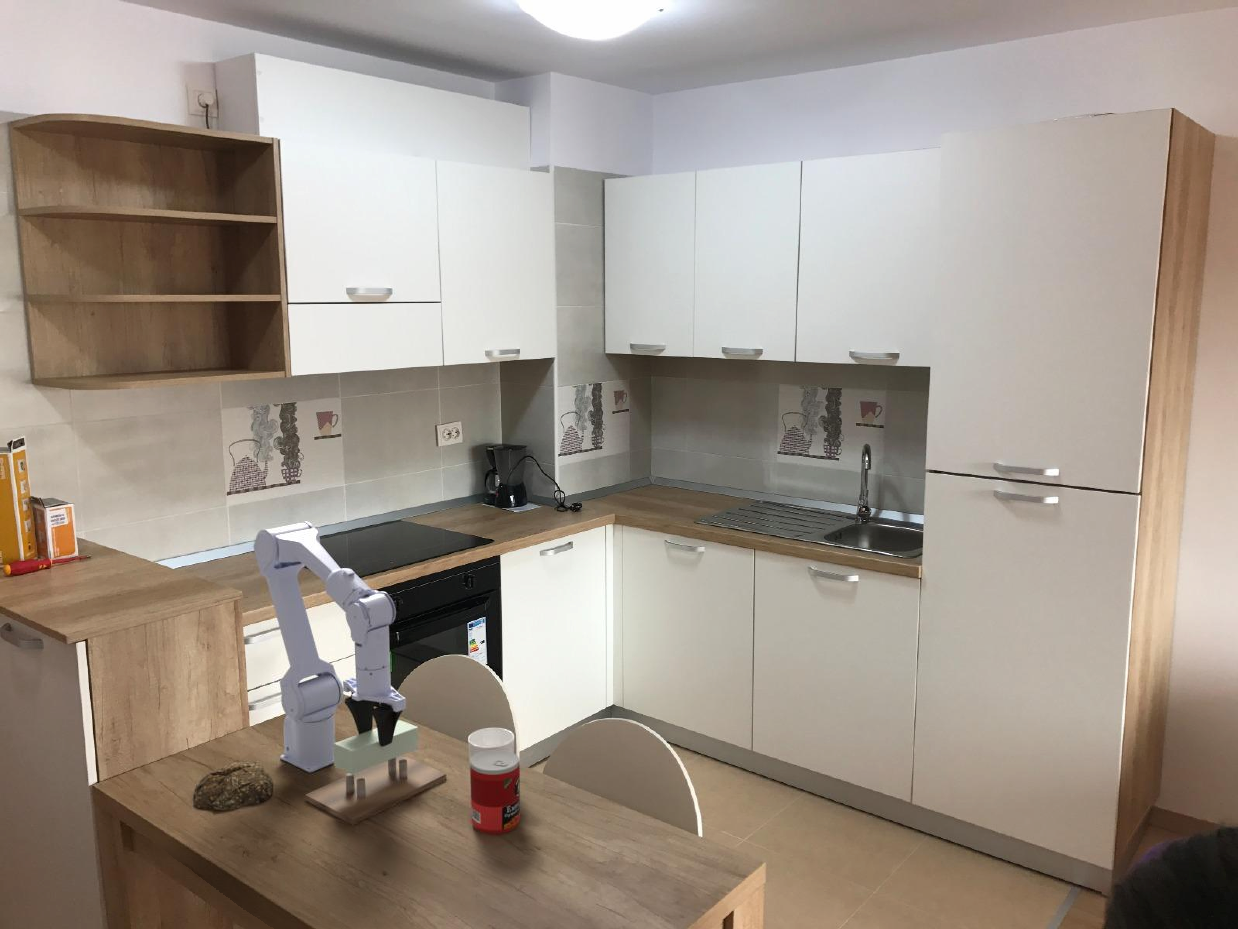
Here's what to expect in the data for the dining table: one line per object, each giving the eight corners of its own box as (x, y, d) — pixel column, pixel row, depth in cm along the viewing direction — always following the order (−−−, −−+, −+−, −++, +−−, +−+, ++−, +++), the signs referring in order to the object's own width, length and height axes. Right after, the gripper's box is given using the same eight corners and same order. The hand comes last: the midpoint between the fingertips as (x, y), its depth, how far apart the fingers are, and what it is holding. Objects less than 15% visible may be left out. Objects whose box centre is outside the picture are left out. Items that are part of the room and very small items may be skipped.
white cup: (492, 807, 165) (491, 751, 164) (459, 793, 170) (458, 739, 168) (524, 789, 172) (523, 735, 170) (491, 776, 176) (490, 723, 175)
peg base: (305, 800, 168) (304, 778, 167) (398, 758, 183) (398, 738, 182) (353, 825, 160) (352, 802, 159) (446, 779, 175) (445, 758, 174)
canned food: (512, 838, 156) (511, 773, 154) (464, 832, 158) (462, 768, 156) (526, 813, 163) (525, 751, 162) (480, 808, 165) (479, 747, 163)
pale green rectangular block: (399, 741, 177) (399, 720, 177) (418, 748, 174) (417, 727, 174) (334, 766, 166) (333, 743, 166) (352, 774, 163) (352, 751, 163)
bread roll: (263, 771, 179) (261, 745, 178) (280, 800, 168) (278, 772, 167) (187, 789, 172) (185, 762, 171) (200, 820, 162) (198, 792, 161)
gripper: (327, 661, 169) (330, 736, 171) (380, 681, 160) (383, 760, 162) (360, 650, 174) (363, 722, 177) (414, 669, 166) (417, 745, 168)
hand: (375, 739), depth 170 cm, fingers closed on pale green rectangular block, 5 cm apart
